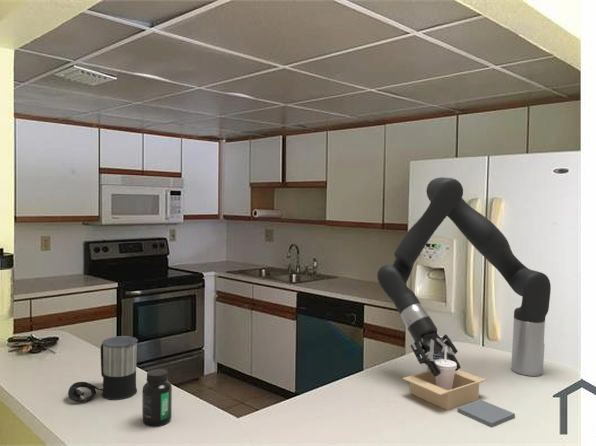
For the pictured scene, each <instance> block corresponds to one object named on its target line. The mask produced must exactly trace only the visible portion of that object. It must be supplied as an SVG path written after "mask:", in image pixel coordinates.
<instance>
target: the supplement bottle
mask: <svg viewBox="0 0 596 446" xmlns="http://www.w3.org/2000/svg"><path fill="white" fill-rule="evenodd" d="M168 373H169V372H168V370H166V369H162V368H156V369H151V370H149V371H148V372H147V374H146V382H145V384H144V385H143V386H142V397H141V398H142V401H141V402H142V403H141V405H142V408H141V409H142V411H141V414H142V415H141V416H142V419H141V420H142V423H143V424H144V425H145V426H147V427H154V428H156V427H162V426H165V425H168V423H170V421H171V419H172V412H173V411H172V409H173V408H172V406H173V404H172V403H173V401H172V400H173V397H172V396H173V387H172V383H171V382H170V381H168V380H169V376H168V375H169V374H168Z"/></svg>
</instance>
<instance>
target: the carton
mask: <svg viewBox="0 0 596 446" xmlns="http://www.w3.org/2000/svg"><path fill="white" fill-rule="evenodd" d="M402 380H404V381H406V382H408V383H410V384H409V394H412V395H413V396H415V397H418V398H420V399H422V400H424V401H426V402H429V403H430V404H432V405H435V406H438V407H439V408H441V409H443V410H446V411H449V410H452V409H455V408H459V407H462V406H465V405H467V404H470V403H473V402H476V401H479V397H480V394H479V393H480V384H481V383H484V382H487V379H485V378H483V377H482V378H481V377H480V376H477V375H474V374H472V373H469V372H466V371H463V370H461V369H459V370H457V371H455V375H454V380H453V386H452V389H451V390H445V389H443V388H441V387H438V386H436V378H435V376H434V375H433V374H432V373H431V371H429V370H426V371H423V372H419V373H416V374H412V375H408V376H405V377H402Z"/></svg>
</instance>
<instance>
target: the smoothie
mask: <svg viewBox="0 0 596 446" xmlns="http://www.w3.org/2000/svg"><path fill="white" fill-rule="evenodd" d="M446 357H447V347H445V355H444V359H437V360H434V362H435V363H436V365H437V367H438V368H439V370H440V372H441V373H440V374H439V375H438V376H436V377H435V378H436V386H438V387H441V388H443V389H445V390H451V389H452V386H453V380H454V375H455V369H456V368H457V364H456V363H455V362H454V361H451V360H447V359H446Z"/></svg>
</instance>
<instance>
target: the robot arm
mask: <svg viewBox="0 0 596 446" xmlns="http://www.w3.org/2000/svg"><path fill="white" fill-rule="evenodd" d="M463 195H464V188H463V185H462V184H461V182H460V181H459V180H457V179H455V178H453V177H437V178H434V179H431V180H430V181H429V182H428V184H427V187H426V197H427V199H428V200H429V202H430V203H429V205H428V207H427V208H426V210H425V211H424V212H423V214H422V216H421V217H420V218H419V219H418V220H417V221H416V222H415V223H414V224H413V225H412V226H411V228H410V229H408V231H407V232H406V233H405V234H404V236H403V238H402V239H401V241H400V242H399V243H398V246H397V247H396V249H395V251H394V253H393V254H394V257H395V259H394V263H393V264H392V265H391V264H384V265H383V266H381V267H379V269H378V270H377V274H376V275H377V276H376V277H377V278H376V279H377V281H378V284H379V285H380V287H381V288H382V290H383V291H384V292H385V294H386V295H387V296H388V297H389V299H390V300H391V301H392V303H393V305H394V307H395V308H396V310H397V311H398V313H399V316H400V317H401V319H402V321H403V324H404V325H405V327H406V329H407V331H408V333H409V334H410V335H411V337H412V340H413V341H414V342H413V343H412V344H410V348H411V351H412V352H413V354H414V356H415V357H416V359H417V361H418V363H419V364H420V365H422V364H424V365H426V366H427V368H428V369H430V371H431V373H432V374H433V375H434V376H435V377H436V376H438V375H439V374H440V373H441V372H440V370H439V368H438V367H437V365H436V363H435V362H434V361H433V354H440V355H443V356H444V355H445V347H447V352H448V353H449V354H447V357H446V358H447V359H448V360H451V361H454V362H455V363H456V364H457V368H456V369H455V371H457V370H461V364H460V362H459V361H458V359H457V358H456V354H457V353H458V352H459V351H458V349H457V347H456V346H455V345H454V344H453V341H452V340H451V338H450V339H449V337H450V336H448V335H447V334H444V335H442V336H443V337H439V336H440V335H439V334H438V328H437V326H436V325H435V323H434V321H433V319H432V318H431V316H430V314H429V313H428V312H427V310H426V308H425V307H424V306H423V305H422V303H421V302H420V300H419V298H418V297H417V295H416V294H415V292H414V291H413V290H412V289H411V288H409V287H408V286H407V282H408V280H409V278H410V277H411V273H412V271H413V267H414V265H415V263H416V261H417V260H418V258H419V257H420V256H421V253H422V252H423V250H424V249H425V247H426V245H427V244H428V242H429V241H430V239H431V238H432V236H433V235H434V233H435V232H436V230H437V229H438V228H439V227H440V226H441V224H442V223H443V221H444V220H445V219H446V218H449V220H451V222H452V223H453V224H454V225H455V226H456V227H457V229H458V230H459V231H460V233H461V234H462V235H463V236H464V237H465V239H467V240H468V241H469V243H470V244H471V245H472V246H473V247H474V248H475V250H477V251H478V253H479V254H481V255H482V256H483V257H484V259H486V260H487V262H488V263H489V264H491V266H493V267H494V268H495V269H496V270H497V271H498V272H499V274H501V276H502V277H503V279H504V280H505V281H506V283H507V284H508V285H509V287H510V288H511V289H512V290H513V291H514V293H516V295H518V296H520V297H522V298H521V299H522V300H521V305H520V307H517V308H515V309H514V311H513V323H512V324H513V325H512V326H513V327H512V328H513V329H512V349H511V362H510V363H511V366H510V369H511V371H512V372H515V373H517V374H520V375H524V376H528V377H533V376H534V377H538V376H542V375H543V372H544V360H545V358H544V357H545V327H546V316H547V315H548V313H549V309H550V299H551V287H552V286H551V285H552V284H551V281H550V279H549V276H548V275H547V274H546V273H543V272H541V271H537V270H534V269H530V268H528V267H527V266H526V265H525V264H524V263H522V262H521V261H520V260H519V259H518V257H516V255H515V254H514V253H513V251H512V248H511V245H510V243H509V241H508V239H507V237H506V236H505V235H504V233H503V232H502V231H501V230H500V229H499V228H498V227H497V225H496V224H494V223H493V222H492V221H491V220H490V219H489V218H487V217H485V216H484V214H482V213H480V212H479V211H478V210H475V209H474V208H473V207H472V206H471V205H469V204H468V203H467V202H466V200H464V198H463ZM442 347H443V348H444V349H443V350H442ZM450 347H451V348H452V351H451V350H450ZM541 374H542V375H541Z"/></svg>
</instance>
